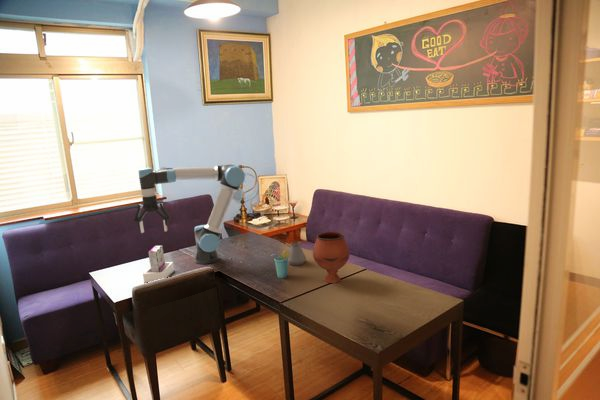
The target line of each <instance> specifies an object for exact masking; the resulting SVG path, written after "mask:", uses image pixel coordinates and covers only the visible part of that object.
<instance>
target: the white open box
mask: <svg viewBox="0 0 600 400" xmlns="http://www.w3.org/2000/svg"><path fill="white" fill-rule="evenodd" d="M165 267H166V268H165V269H164V270H163V271H162V272H151V266H150V267H148V268H147V269H146V270H145V271H144V272H143V273H142V276H143V283H144V284H148V283H147V282H150V281H154V280H158V279H162V278H166V277H168V278H170V276H171V275H172V274H173V273H174V272H175V266H174V261H167V262H166V261H165Z"/></svg>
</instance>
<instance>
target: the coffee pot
mask: <svg viewBox="0 0 600 400" xmlns="http://www.w3.org/2000/svg"><path fill="white" fill-rule="evenodd" d="M272 240H273V241H275V240H276V241H278V242H280V243H282V244H283V245H286V246H287V247H289V248H290V250H289V253H290V256H289V258H288V260H287V263H289V264H290V265H292V266H300V265H303V264H304V263H305V262H306V261H307V257H306V255H305V251H303V247H301V244H302V241H299V240H297V241H295V240H294V241H291V242H290V243H289V244H288V243H287V242H285V241H283V240H282V239H279V238H277V237H273V239H272Z"/></svg>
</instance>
